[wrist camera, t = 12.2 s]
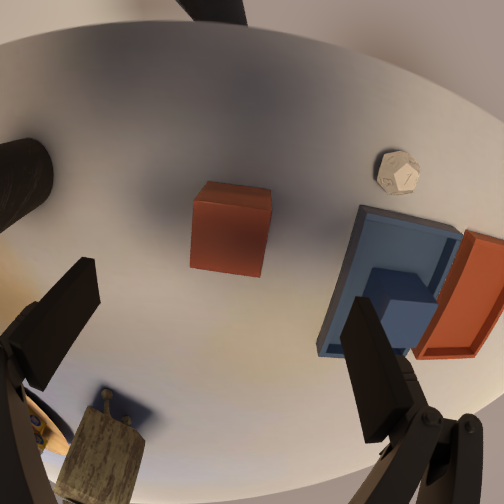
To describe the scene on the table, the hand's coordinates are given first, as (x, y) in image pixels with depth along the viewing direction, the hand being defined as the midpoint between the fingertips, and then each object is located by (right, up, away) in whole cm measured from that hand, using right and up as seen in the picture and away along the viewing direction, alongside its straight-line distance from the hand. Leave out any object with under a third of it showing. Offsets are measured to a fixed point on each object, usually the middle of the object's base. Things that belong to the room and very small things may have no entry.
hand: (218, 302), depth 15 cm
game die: (+13, +9, +8) cm, 18 cm away
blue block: (+14, -1, +13) cm, 19 cm away
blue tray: (+14, -1, +13) cm, 19 cm away
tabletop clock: (-19, -22, +25) cm, 39 cm away
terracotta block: (0, +5, +10) cm, 12 cm away
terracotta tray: (+26, -3, +13) cm, 30 cm away
